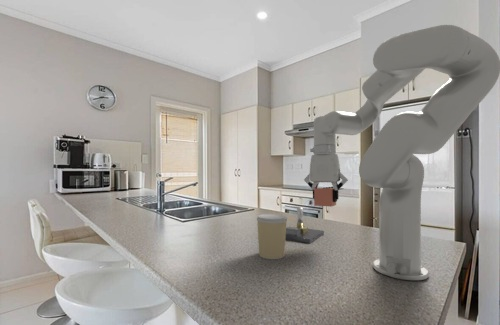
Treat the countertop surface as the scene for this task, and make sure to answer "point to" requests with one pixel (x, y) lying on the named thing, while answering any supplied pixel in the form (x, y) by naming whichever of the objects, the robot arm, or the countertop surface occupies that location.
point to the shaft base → (306, 236)
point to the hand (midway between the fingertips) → (325, 200)
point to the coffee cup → (271, 235)
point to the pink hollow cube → (323, 197)
